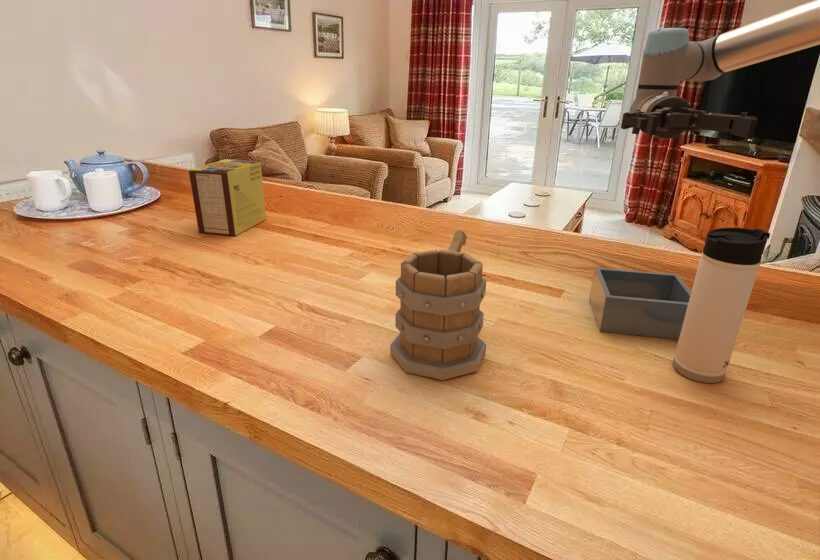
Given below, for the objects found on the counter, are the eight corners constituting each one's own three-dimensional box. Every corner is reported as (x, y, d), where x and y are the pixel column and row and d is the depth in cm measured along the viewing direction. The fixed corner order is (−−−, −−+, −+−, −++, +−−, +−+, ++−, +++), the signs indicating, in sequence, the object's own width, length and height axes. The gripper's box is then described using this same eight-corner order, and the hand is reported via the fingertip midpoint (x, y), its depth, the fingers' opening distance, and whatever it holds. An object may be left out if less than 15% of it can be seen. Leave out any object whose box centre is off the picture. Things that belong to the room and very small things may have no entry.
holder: (670, 305, 86) (678, 274, 84) (693, 341, 75) (703, 305, 72) (589, 298, 88) (594, 267, 86) (599, 331, 77) (606, 296, 75)
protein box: (267, 219, 132) (261, 160, 125) (235, 236, 118) (227, 171, 112) (232, 216, 134) (224, 158, 128) (197, 232, 120) (186, 169, 114)
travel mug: (736, 384, 64) (784, 239, 56) (686, 383, 64) (727, 237, 56) (710, 358, 70) (751, 223, 62) (664, 357, 70) (698, 222, 62)
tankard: (470, 387, 63) (478, 279, 57) (379, 367, 67) (378, 264, 61) (500, 320, 80) (508, 231, 74) (426, 307, 84) (429, 222, 78)
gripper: (599, 93, 94) (619, 99, 75) (742, 97, 89) (803, 103, 70) (593, 134, 97) (611, 149, 78) (731, 139, 92) (787, 156, 73)
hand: (702, 127), depth 74 cm, fingers open, 13 cm apart
